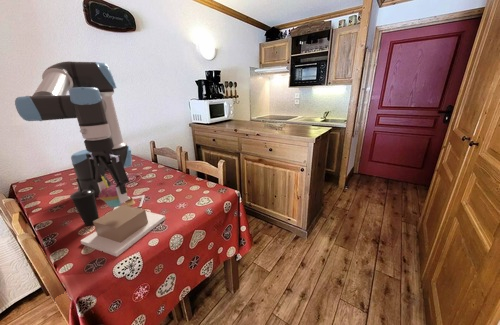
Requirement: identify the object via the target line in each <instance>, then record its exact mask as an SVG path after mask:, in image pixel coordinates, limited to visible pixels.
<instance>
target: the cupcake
mask: <svg viewBox="0 0 500 325" xmlns="http://www.w3.org/2000/svg"><path fill="white" fill-rule="evenodd" d="M101 176H102V175H101ZM101 178H102V180H103V182H104V183H105V185H106V188H104V189H103V190H101V192H100V193H99V196H98V198H99V200H101V201H103V202H104V203H105V204H106V205H107V206H108V208H114V207H117V206H119V207H120V206H122V205H124V204H125V202H123V203H120V201H119V197H118V194H117V190H116V187H115V186H116V185H117V184H112V185H111V186H108V184H107V182H106V180H105V179H104V177H103V176H102V177H101ZM126 190H127V191H128V189H127V188H126Z"/></svg>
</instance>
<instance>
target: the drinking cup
mask: <svg viewBox="0 0 500 325" xmlns="http://www.w3.org/2000/svg"><path fill="white" fill-rule="evenodd" d="M76 183H77V187H78V186H79V189H80V190H79V191H78V190H76V191H75V192H73V193H71V194H70V195H69V199H71V200H72V203H73V204H74V206H75V208H76V210H77V212H78V214H79V216H80V218H81V219H82V222H83V223H84V226H86V227H90V226H94V224H93V221H95V220H96V219H98V218H100V217H99V212H98V207H97V201H96V196H94V190H93V189H82V188H81V185H80V182H79V179H78V178H77V177H76Z"/></svg>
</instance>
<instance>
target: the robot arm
mask: <svg viewBox="0 0 500 325" xmlns="http://www.w3.org/2000/svg"><path fill="white" fill-rule="evenodd" d="M41 79H42V81H41V82H40V84H39V85H38V86H37V89H36V90H35V92H34V93H33V94H32V95H25V96H17V97H16V98H15V100H14V105H15V109H16V111H17V113H18V114H19V117H20V118H22V120H24V121H27V122H43V121H54V120H55V121H57V120H67V119H77V122H78V126H79V132H80V133H81V135H82V139H84V141H83V143H84V146H85V149H83V150H79V151H77V152H75V153H73V154H72V155H71V156H70V159H71V165H72V167H73V168H74V173H75V175H76V179H77V178H78V179H79V182H80V185H81V188H82V189H93V190H94V196H95V197H99V193H100V192H101V190H103V189H104V188H106V185H105V183H104V182H103V180H102V178H101V177H102V176H103V177H104V179H105V180H106V182H107V184H108V186H111V185H113V184H112V182H111V181H110V179H108V177H107V175H106V172H109V174H110V175H111V178H112V179H113V181H114V182H115V185H116V186H115V187H116V190H117V194H118V197H119V201H120V203H123V202H124V203H125V201H127V200H128V189H127V186H126V184H129V183H130V180H129V177H128V175H127V172H126V170H125V169H126V168H130V167H132V165H133V158H132V157H133V156H132V147H131V146H130V145H129V146H128V143H127V142H125V141H124V140H123V136H122V132H121V127H120V124H119V119H118V116H117V111H116V108H115V103H114V100H113V95H114V94H115V89H117V85H116V82H115V80H114V75H112V72H111V68H110V67H109V65H108V64H107V63H105V62H96V61H61V62H59V63H58V62H57V63H55V64H53V65H51V66H48V67H47V68H46V69H45V70H44V71H43V73H42V75H41ZM101 175H102V176H101ZM126 189H127V190H126ZM79 190H80V189H79V186H78V185H77V191H79ZM124 203H123V204H124Z"/></svg>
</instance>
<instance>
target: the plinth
mask: <svg viewBox="0 0 500 325" xmlns="http://www.w3.org/2000/svg"><path fill="white" fill-rule="evenodd" d="M136 207H137V206H127V205H125V204H122V205H120V206H119V207H118V208H116V209H114V208H113V209H114V210H111V211H109V212H107V213H106V214H103V215H102V216H100V217H99V218H98V219H96V220H95V221H93V224H94V225H93V226H94V230H95V231H93V233H90V234H89V235H87V236H85V237H84V238H82V239H81V240H80V243H81V245H84V246H86V247H88V248H91V249H94V250H97V251H100V252H102V251H103V252H102V253H105V254H109V255H111V256H114V257H119V256H120V255H121V254H122V253H124V252H126V250H128V249H129V248H130V247H132V246H133V245H134V244H136V243H137V242H138V241H139V240H140V239H142V238H143V237H144V236H145V235H147V234H148V233H150V232H151V231H152V230H154V228H156V227H157V226H159V225H160V224H161V223H163V221H165V220H166V219H167V218H166V215H162V214H159V213H155V212H150V211H146V209H143V208H141V207H138V208H136Z"/></svg>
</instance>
